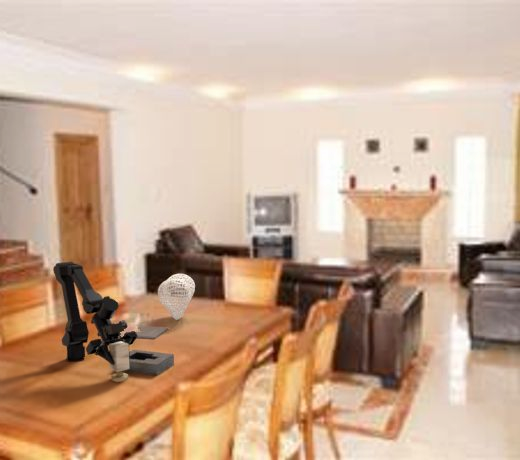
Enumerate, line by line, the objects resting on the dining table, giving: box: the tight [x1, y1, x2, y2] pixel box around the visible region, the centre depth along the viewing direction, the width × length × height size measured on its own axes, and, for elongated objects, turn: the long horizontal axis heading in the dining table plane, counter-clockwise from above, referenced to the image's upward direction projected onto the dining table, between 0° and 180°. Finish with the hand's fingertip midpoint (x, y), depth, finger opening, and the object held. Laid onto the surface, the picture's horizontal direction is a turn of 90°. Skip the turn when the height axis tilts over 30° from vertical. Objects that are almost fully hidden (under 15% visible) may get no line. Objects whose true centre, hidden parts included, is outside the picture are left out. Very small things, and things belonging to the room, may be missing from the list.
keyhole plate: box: [123, 349, 175, 376], centre depth 225 cm, size 18×13×4 cm
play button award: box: [136, 325, 170, 340], centre depth 274 cm, size 16×2×20 cm
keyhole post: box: [108, 341, 130, 383], centre depth 212 cm, size 6×6×13 cm
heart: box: [157, 273, 196, 321], centre depth 297 cm, size 28×16×22 cm, turn 175°
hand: (121, 362), depth 211 cm, fingers open, 6 cm apart
